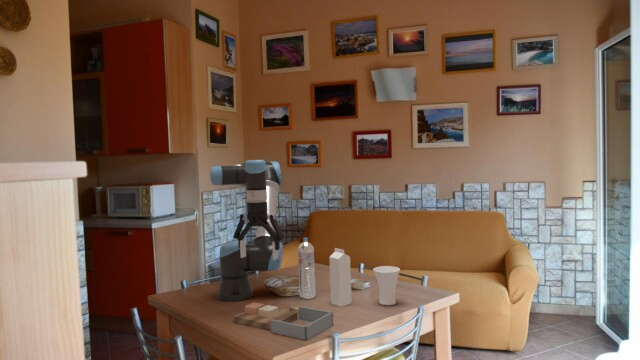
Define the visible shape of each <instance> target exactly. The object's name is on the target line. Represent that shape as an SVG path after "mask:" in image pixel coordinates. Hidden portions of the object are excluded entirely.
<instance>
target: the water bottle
mask: <svg viewBox="0 0 640 360" xmlns="http://www.w3.org/2000/svg"><path fill="white" fill-rule="evenodd" d="M308 240H309V238H308V237H303V240H302V241H303V242H301V243H300V244H299V245H298V247H297V252H298V253H297V255H298V256H297V257H298V259H297V260H298V286H299V287H298V289H299V291H298V292H299V293H298V294H299V298H300V299H303V300H312V299H314V298H316V275H315V274H316V269H315V267H316V266H315V247H314V246H313V244H312V243H311V242H309V241H308Z"/></svg>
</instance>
